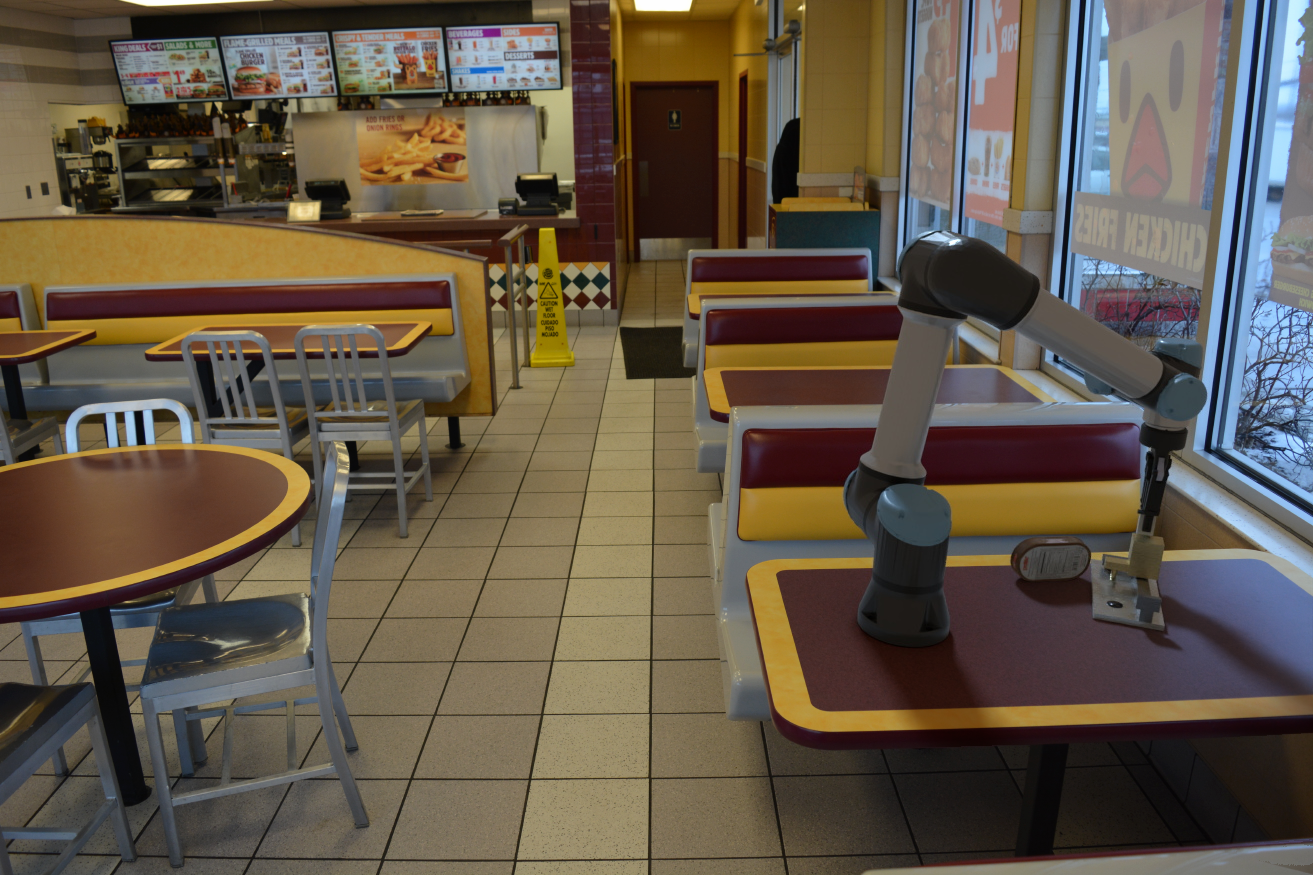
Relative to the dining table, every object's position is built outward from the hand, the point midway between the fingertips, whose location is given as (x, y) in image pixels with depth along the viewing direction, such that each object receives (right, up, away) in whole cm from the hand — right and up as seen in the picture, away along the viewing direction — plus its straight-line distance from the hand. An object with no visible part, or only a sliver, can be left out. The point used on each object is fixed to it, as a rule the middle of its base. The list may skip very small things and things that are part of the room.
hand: (1142, 545), depth 179 cm
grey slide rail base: (-5, -8, -5) cm, 11 cm away
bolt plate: (-6, -9, -5) cm, 11 cm away
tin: (-17, -7, +1) cm, 18 cm away
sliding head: (-4, -7, -3) cm, 8 cm away
